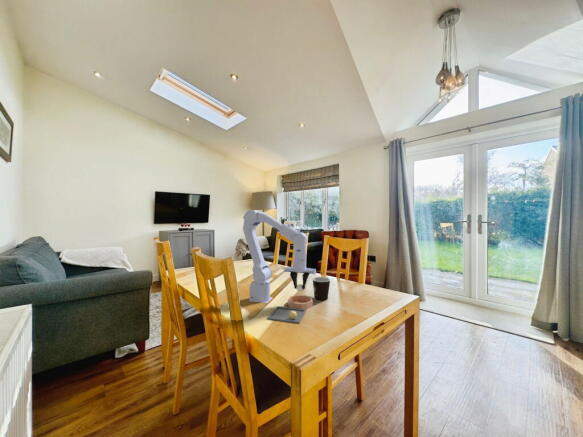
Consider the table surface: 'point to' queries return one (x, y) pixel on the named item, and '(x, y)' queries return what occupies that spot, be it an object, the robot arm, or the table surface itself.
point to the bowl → (300, 301)
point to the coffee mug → (321, 288)
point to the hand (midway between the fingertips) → (299, 288)
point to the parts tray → (286, 314)
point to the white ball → (299, 287)
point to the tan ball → (292, 314)
